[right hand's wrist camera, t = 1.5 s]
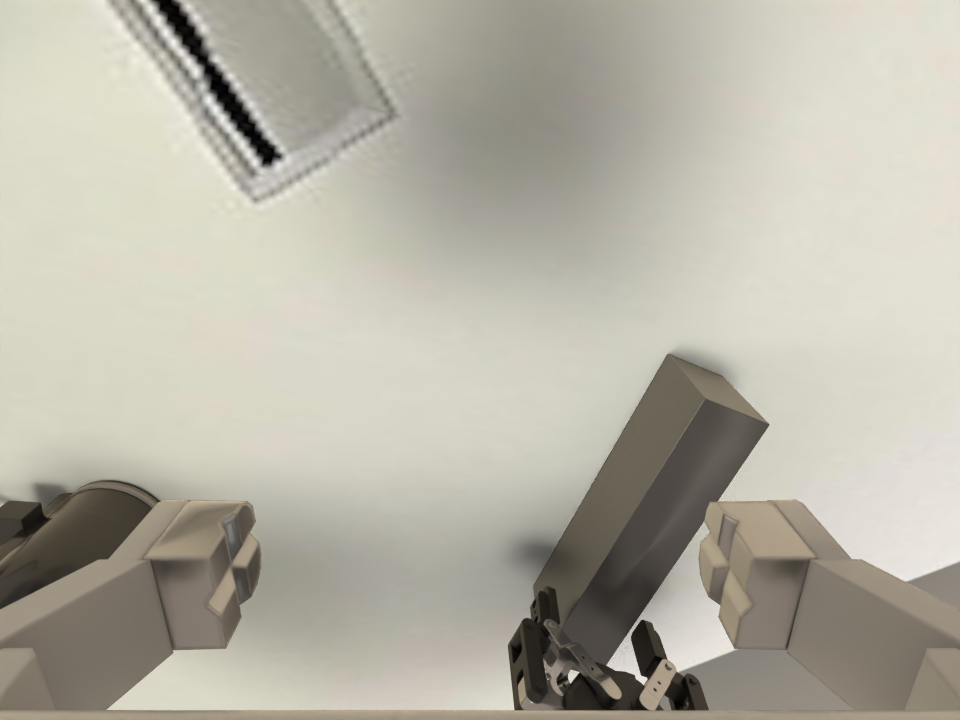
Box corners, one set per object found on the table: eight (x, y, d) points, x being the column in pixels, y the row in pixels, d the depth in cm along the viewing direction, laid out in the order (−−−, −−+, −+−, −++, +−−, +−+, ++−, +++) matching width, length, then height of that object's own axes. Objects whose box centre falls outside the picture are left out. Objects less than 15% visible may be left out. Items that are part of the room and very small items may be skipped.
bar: (667, 353, 45) (704, 398, 38) (723, 376, 46) (770, 424, 38) (533, 586, 53) (541, 660, 46) (581, 602, 54) (597, 677, 47)
